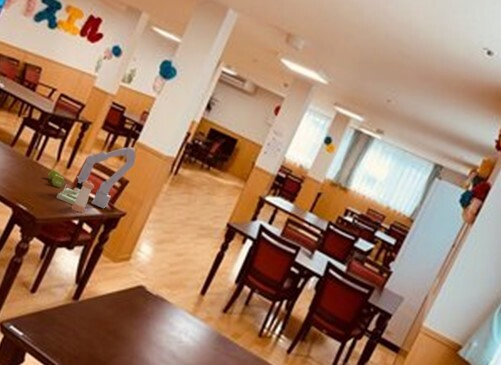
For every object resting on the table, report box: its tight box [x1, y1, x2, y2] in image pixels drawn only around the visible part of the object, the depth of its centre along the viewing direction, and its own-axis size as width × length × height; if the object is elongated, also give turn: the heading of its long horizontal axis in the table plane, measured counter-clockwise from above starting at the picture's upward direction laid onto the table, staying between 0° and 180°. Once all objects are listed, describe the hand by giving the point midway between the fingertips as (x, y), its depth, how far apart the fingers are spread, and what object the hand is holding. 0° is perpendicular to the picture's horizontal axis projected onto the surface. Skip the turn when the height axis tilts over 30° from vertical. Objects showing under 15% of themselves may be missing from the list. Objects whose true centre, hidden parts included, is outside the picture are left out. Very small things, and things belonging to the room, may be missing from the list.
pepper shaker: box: [71, 180, 95, 213], centre depth 310 cm, size 7×7×19 cm
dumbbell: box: [48, 169, 65, 188], centre depth 345 cm, size 16×8×7 cm, turn 34°
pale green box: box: [56, 183, 80, 205], centre depth 328 cm, size 14×24×10 cm, turn 8°
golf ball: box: [72, 187, 81, 194], centre depth 334 cm, size 4×4×4 cm
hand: (77, 191), depth 338 cm, fingers closed
